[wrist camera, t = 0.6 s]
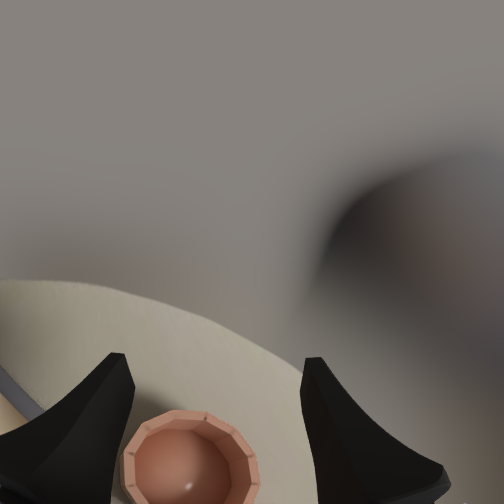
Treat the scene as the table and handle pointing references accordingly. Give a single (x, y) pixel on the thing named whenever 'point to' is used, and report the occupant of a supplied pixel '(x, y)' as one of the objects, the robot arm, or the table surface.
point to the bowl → (188, 462)
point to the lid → (9, 417)
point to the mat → (18, 397)
